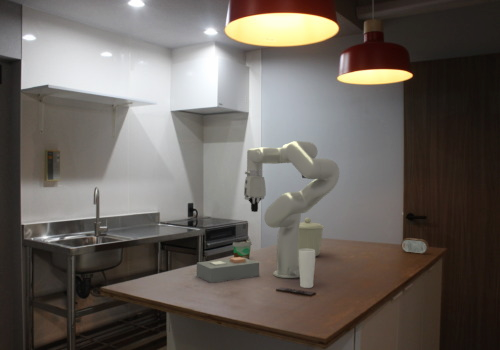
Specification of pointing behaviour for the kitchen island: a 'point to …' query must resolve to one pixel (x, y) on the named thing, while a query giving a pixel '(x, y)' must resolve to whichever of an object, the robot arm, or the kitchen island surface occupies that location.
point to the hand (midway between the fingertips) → (254, 211)
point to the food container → (242, 249)
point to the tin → (415, 245)
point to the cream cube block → (217, 263)
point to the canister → (310, 236)
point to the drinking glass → (306, 267)
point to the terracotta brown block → (237, 260)
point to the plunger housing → (227, 270)
